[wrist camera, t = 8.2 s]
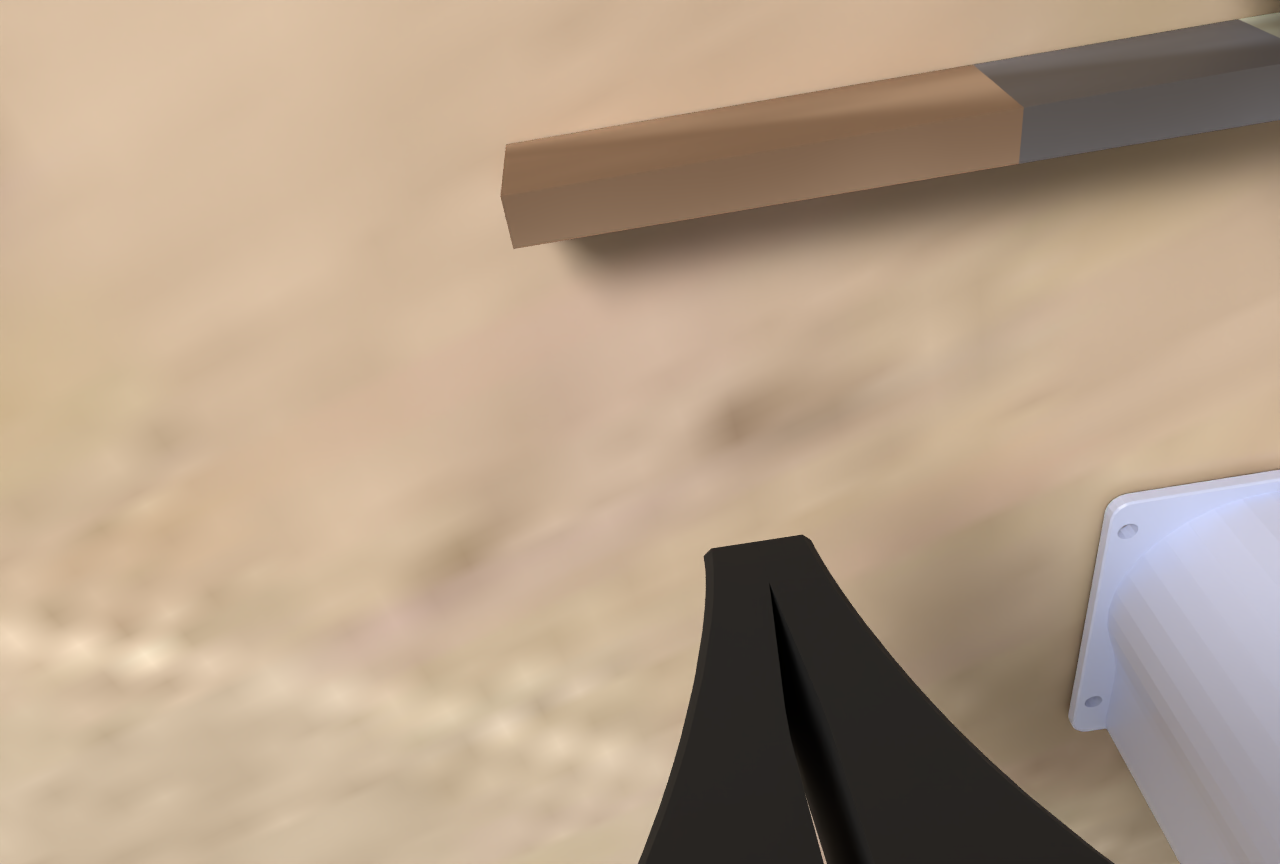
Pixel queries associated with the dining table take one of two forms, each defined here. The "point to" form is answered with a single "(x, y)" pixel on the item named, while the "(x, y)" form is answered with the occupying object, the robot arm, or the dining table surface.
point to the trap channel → (894, 131)
